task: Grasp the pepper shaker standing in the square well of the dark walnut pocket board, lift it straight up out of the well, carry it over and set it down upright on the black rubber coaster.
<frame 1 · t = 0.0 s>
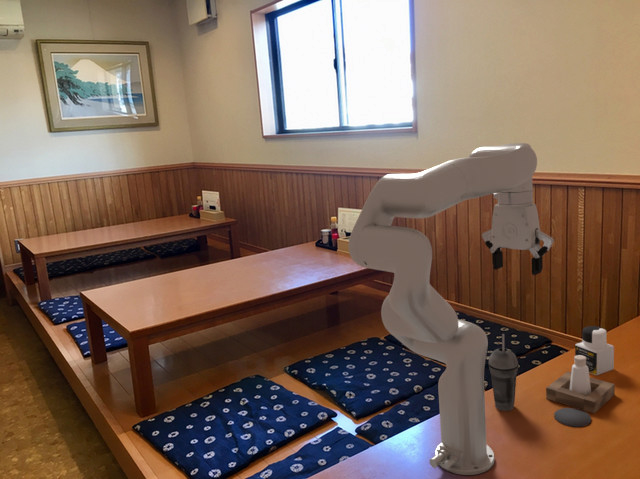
hand: (517, 270, 128), 37 cm above the table, tool pointing down, fingers open, 9 cm apart
beverage cup: (504, 407, 139), on the table
coaster: (572, 417, 131), on the table
pepper shaker: (580, 397, 141), resting in pocket board
medicine bottle: (594, 369, 155), on the table
pocket board: (580, 396, 140), on the table
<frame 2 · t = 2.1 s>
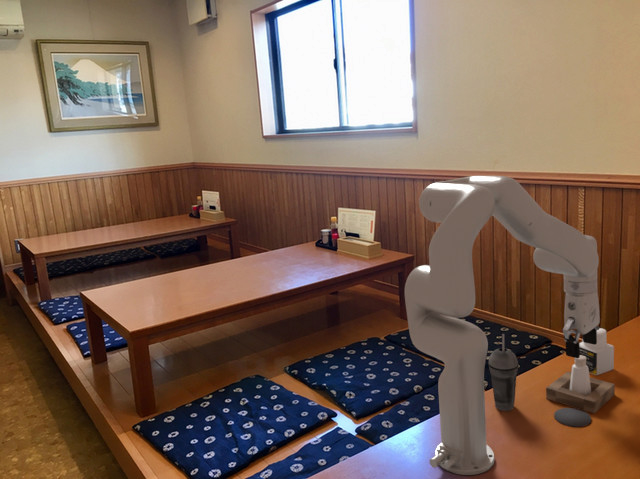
hand: (581, 349, 138), 13 cm above the table, tool pointing down, fingers open, 9 cm apart
nothing on the table moved.
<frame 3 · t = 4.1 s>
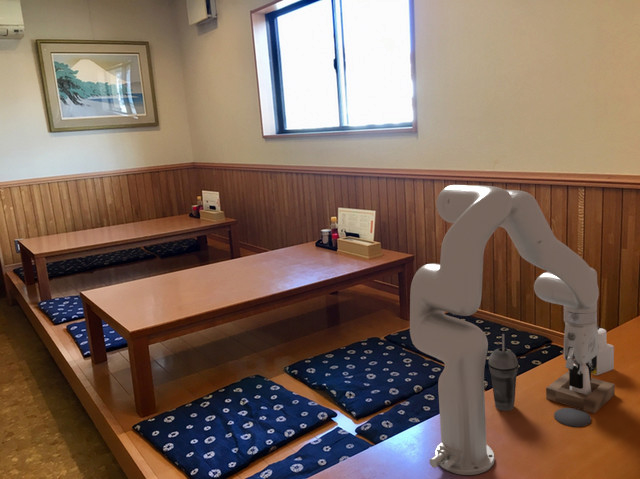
hand: (580, 383, 140), 4 cm above the table, tool pointing down, fingers closed on pepper shaker, 3 cm apart
pepper shaker: (580, 397, 141), resting in pocket board, touching gripper
everything else where it was.
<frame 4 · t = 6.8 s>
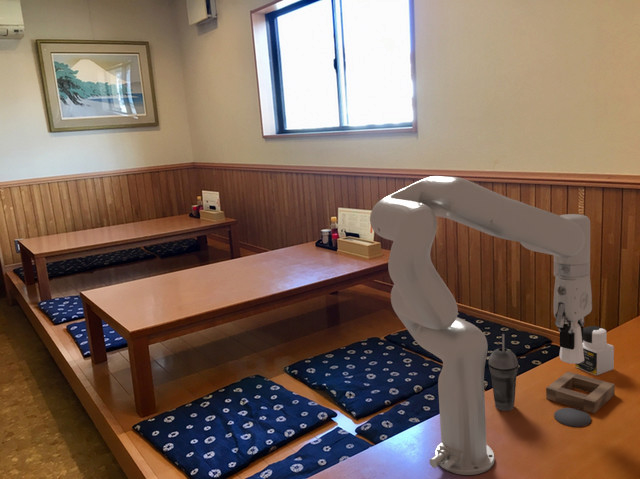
hand: (571, 344, 128), 19 cm above the table, tool pointing down, fingers closed on pepper shaker, 3 cm apart
pepper shaker: (571, 360, 128), point 15 cm above the table, touching gripper
everything else where it was.
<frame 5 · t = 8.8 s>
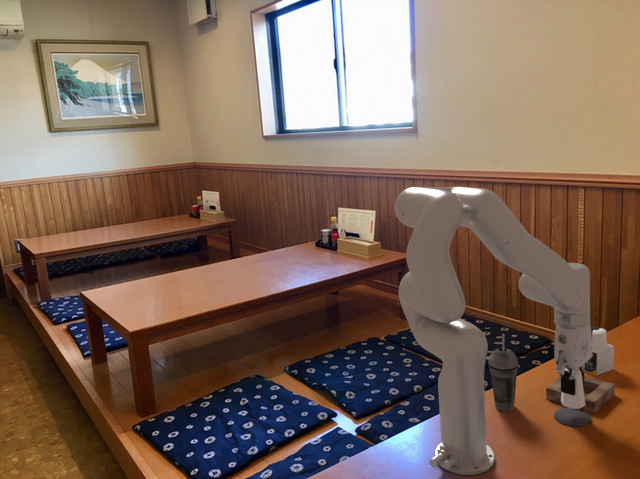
hand: (572, 388, 130), 7 cm above the table, tool pointing down, fingers closed on pepper shaker, 3 cm apart
pepper shaker: (572, 404, 131), point 4 cm above the table, touching gripper
everything else where it was.
when the fingers open (6 cm above the table, at t = 10.0 s): pepper shaker drops 1 cm, resting on coaster.
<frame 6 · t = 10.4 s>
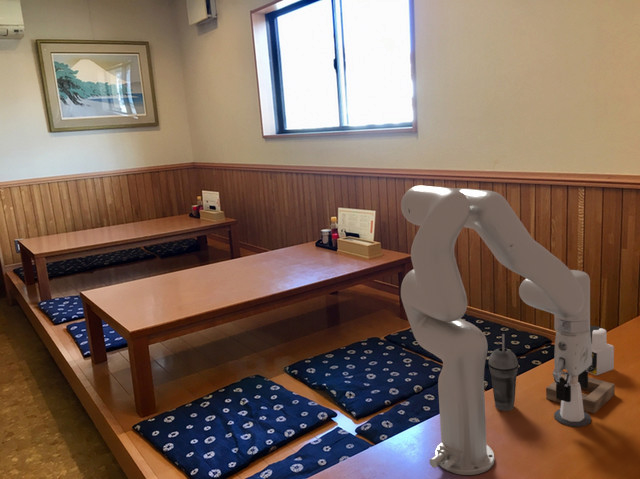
hand: (572, 392, 130), 7 cm above the table, tool pointing down, fingers open, 8 cm apart
pepper shaker: (572, 417, 131), resting on coaster
everything else where it was.
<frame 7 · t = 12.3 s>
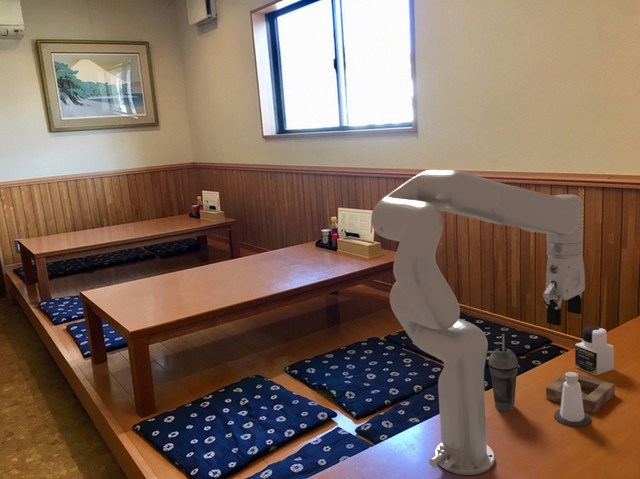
hand: (564, 318, 130), 24 cm above the table, tool pointing down, fingers open, 9 cm apart
nothing on the table moved.
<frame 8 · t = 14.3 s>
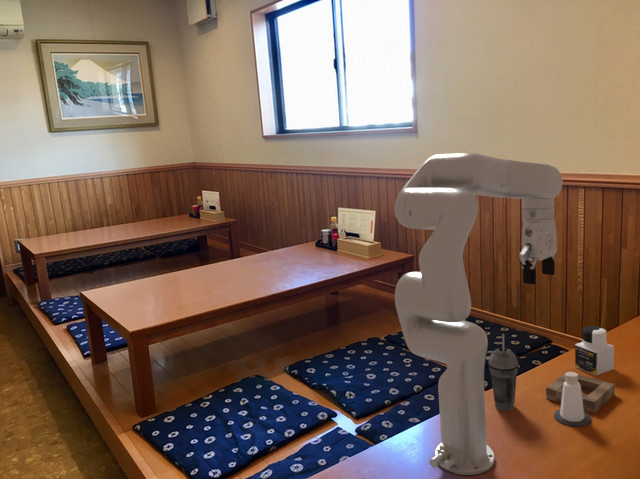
hand: (539, 278, 141), 30 cm above the table, tool pointing down, fingers open, 9 cm apart
nothing on the table moved.
at the end: pepper shaker inside the target area on the coaster (0.1 cm from its centre), point 0.2 cm above the coaster's base; pepper shaker tilted 0°; pepper shaker touching coaster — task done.
